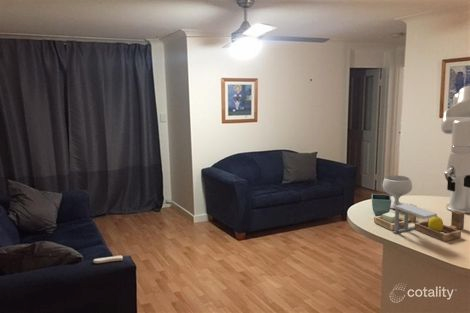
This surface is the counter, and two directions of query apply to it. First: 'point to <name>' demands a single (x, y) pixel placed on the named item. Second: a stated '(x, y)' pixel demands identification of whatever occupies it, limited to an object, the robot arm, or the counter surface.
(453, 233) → the wooden handled tray
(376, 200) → the flower pot
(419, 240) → the counter surface
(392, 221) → the sage cube
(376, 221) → the sled
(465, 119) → the robot arm
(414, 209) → the grey bench
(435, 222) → the lemon
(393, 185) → the chalice
